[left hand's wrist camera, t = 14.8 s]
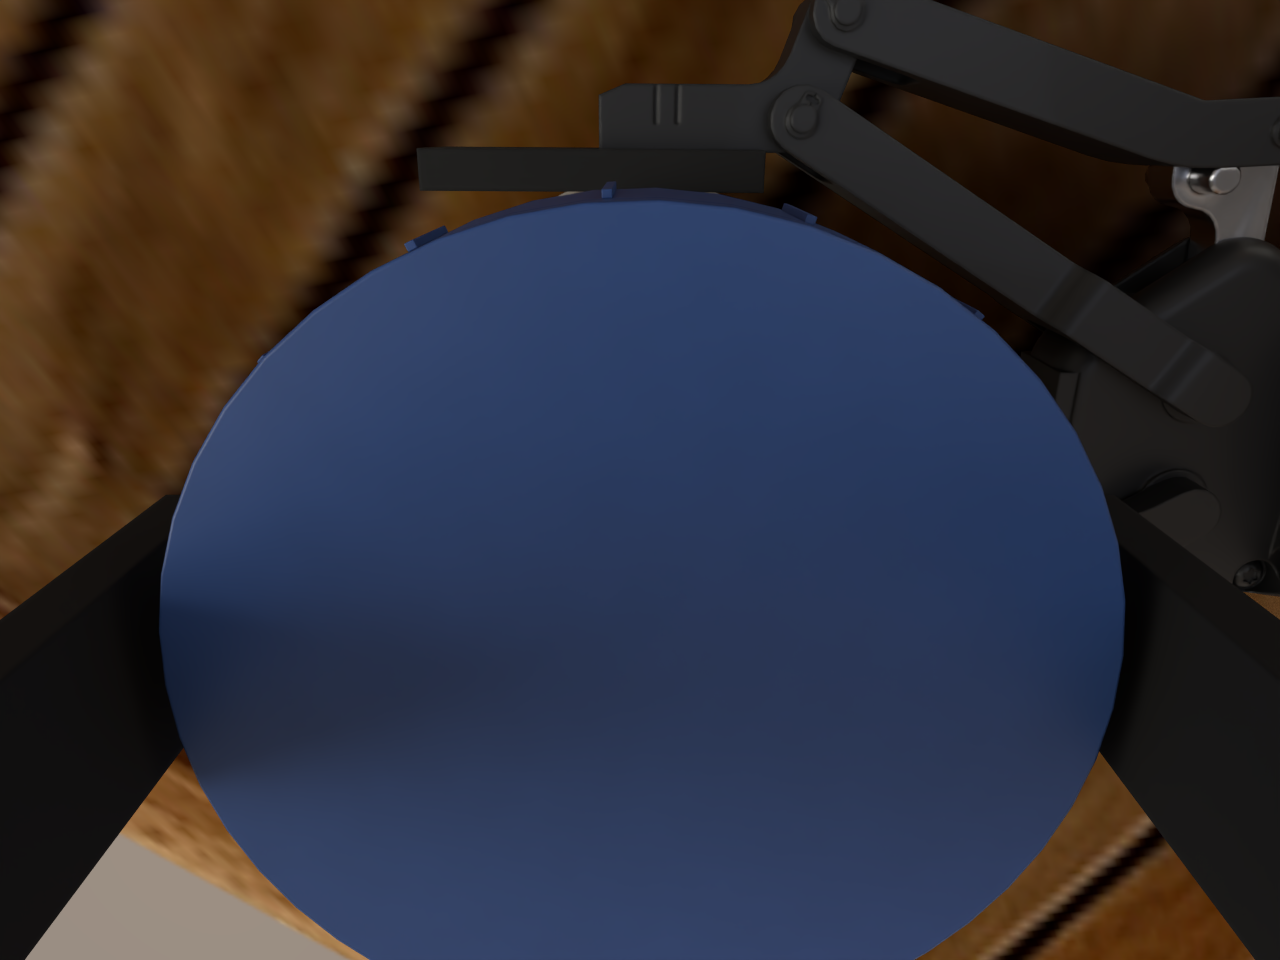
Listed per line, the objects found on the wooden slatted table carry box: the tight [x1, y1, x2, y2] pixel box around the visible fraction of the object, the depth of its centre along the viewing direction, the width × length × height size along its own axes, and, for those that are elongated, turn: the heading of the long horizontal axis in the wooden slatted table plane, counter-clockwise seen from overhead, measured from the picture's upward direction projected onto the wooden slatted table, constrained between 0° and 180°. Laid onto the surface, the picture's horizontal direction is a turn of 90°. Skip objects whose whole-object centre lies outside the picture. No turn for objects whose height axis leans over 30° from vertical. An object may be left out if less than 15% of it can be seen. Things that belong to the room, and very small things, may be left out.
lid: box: [159, 181, 1125, 960], centre depth 11 cm, size 11×11×2 cm
